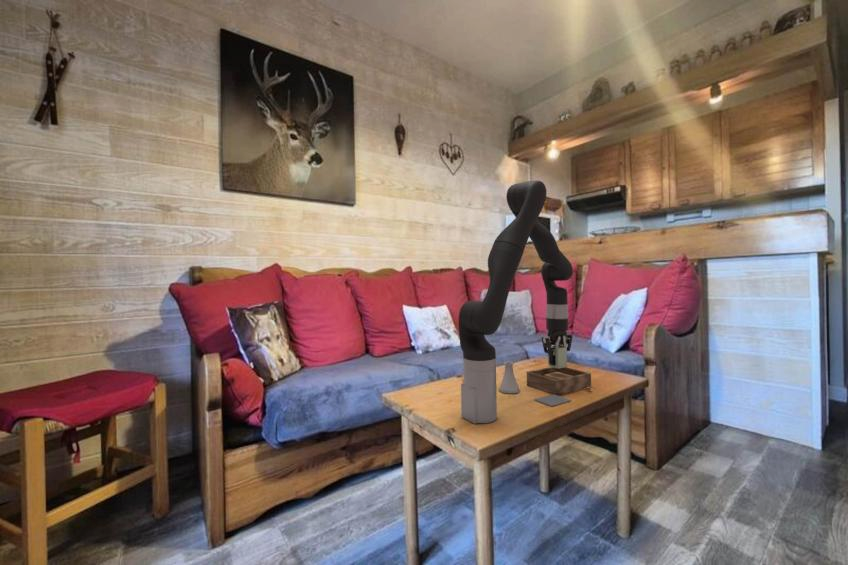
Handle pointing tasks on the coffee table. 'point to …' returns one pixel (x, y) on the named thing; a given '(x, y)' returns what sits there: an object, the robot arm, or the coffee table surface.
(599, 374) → the coffee table surface
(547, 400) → the pad
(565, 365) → the block
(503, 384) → the flask
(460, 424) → the coffee table surface
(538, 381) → the crate
